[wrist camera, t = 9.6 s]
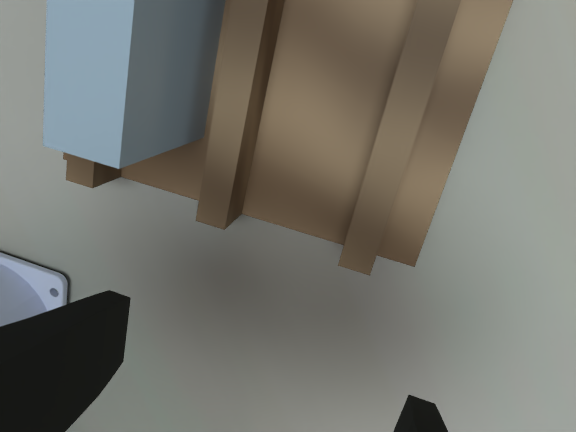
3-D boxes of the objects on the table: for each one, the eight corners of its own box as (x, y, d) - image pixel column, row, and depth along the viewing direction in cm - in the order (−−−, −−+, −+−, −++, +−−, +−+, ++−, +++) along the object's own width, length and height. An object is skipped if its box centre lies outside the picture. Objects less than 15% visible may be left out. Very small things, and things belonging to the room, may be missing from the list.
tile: (203, 137, 18) (119, 169, 13) (148, 121, 19) (42, 145, 13) (244, -122, 15) (155, -227, 10) (177, -135, 16) (53, -244, 10)
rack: (413, 256, 19) (415, 289, 16) (77, 154, 21) (29, 168, 19) (573, -179, 14) (617, -241, 11) (101, -254, 16) (37, -320, 13)
